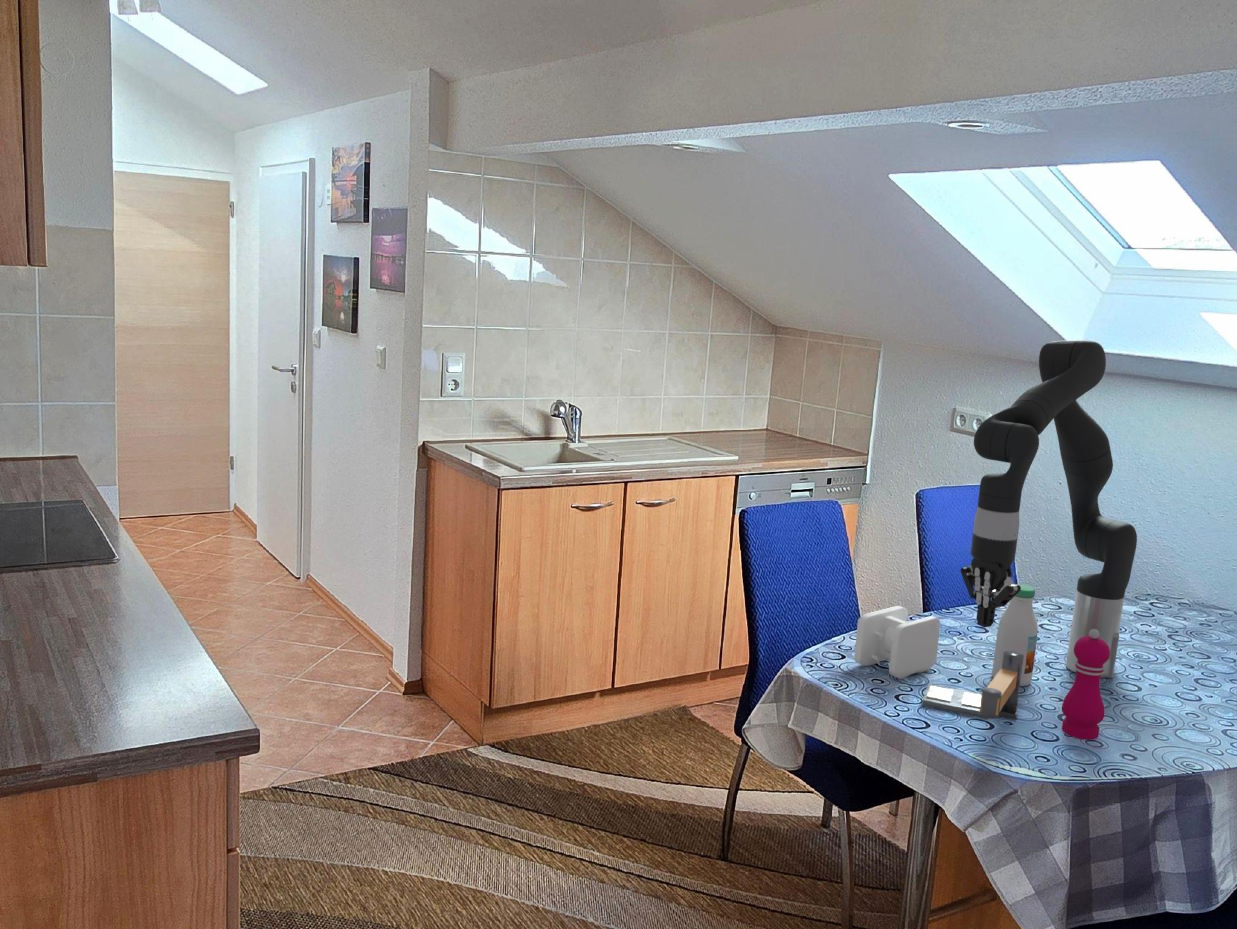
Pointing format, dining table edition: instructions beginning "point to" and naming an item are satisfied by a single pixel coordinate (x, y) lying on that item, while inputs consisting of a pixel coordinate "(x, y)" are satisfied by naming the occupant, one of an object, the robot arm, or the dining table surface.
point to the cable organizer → (897, 641)
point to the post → (1015, 663)
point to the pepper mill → (1086, 689)
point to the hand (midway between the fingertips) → (984, 625)
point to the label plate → (952, 700)
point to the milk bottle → (1018, 633)
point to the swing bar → (997, 693)
